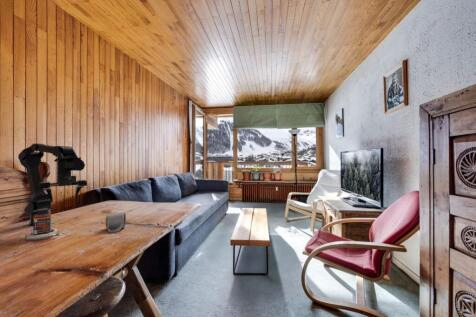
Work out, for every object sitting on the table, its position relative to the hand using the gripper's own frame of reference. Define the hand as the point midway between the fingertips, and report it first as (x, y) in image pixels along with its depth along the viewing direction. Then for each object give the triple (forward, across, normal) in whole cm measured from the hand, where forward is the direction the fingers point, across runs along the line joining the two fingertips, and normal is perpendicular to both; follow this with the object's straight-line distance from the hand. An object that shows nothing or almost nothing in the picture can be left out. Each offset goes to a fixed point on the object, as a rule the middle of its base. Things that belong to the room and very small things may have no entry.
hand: (64, 200), depth 108 cm
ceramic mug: (+13, +19, -23) cm, 32 cm away
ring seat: (+13, -8, -11) cm, 19 cm away
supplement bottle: (+13, -8, -11) cm, 18 cm away
